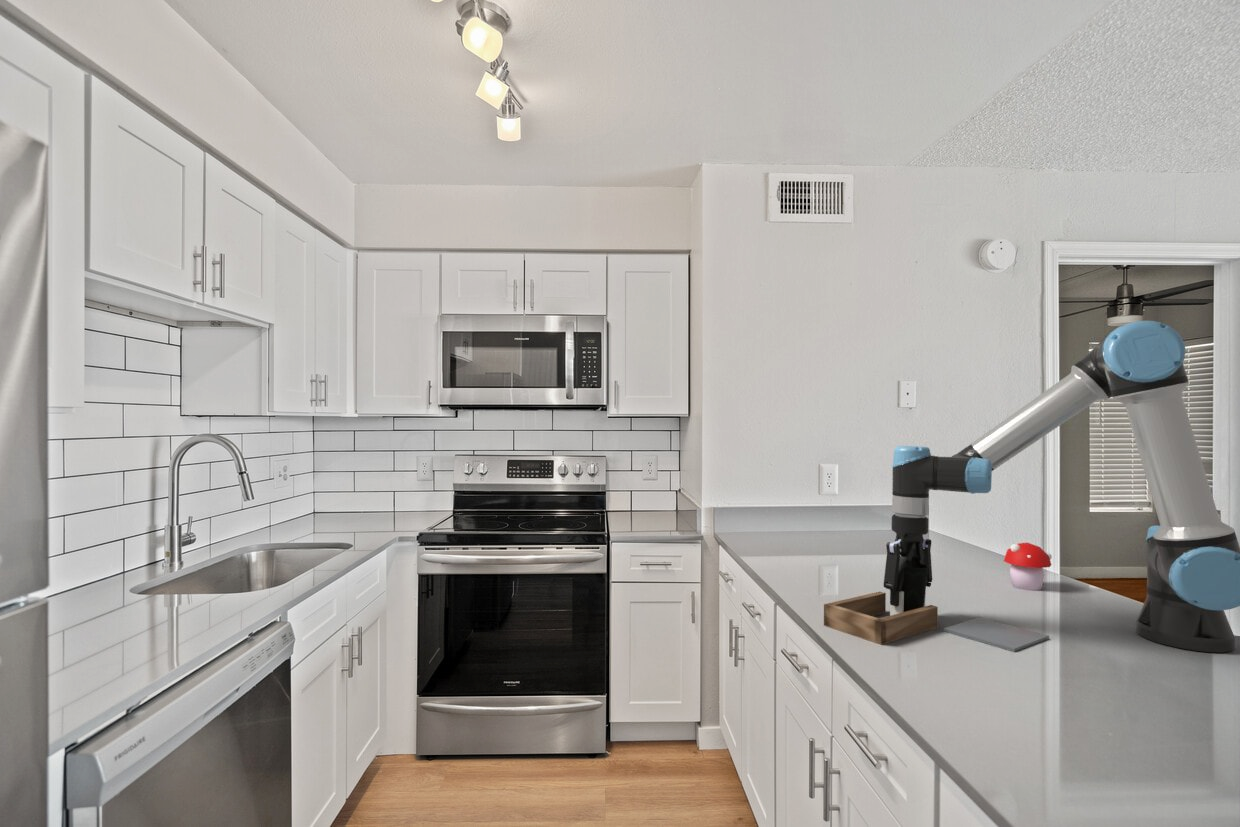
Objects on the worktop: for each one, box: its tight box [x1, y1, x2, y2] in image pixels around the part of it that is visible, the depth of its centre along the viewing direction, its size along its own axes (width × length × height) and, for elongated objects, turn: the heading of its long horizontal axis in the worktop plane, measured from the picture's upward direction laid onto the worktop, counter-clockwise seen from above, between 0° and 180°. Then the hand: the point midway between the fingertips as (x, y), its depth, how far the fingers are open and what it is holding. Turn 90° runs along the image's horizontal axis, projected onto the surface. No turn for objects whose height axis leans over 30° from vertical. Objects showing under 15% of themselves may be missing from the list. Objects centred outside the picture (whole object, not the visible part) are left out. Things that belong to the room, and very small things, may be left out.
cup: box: [901, 562, 928, 612], centre depth 144 cm, size 8×8×12 cm
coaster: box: [943, 617, 1050, 653], centre depth 133 cm, size 14×14×1 cm
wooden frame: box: [823, 591, 939, 645], centre depth 138 cm, size 14×20×4 cm
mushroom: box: [1003, 542, 1053, 591], centre depth 171 cm, size 11×11×12 cm
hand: (907, 617), depth 144 cm, fingers closed on cup, 8 cm apart
